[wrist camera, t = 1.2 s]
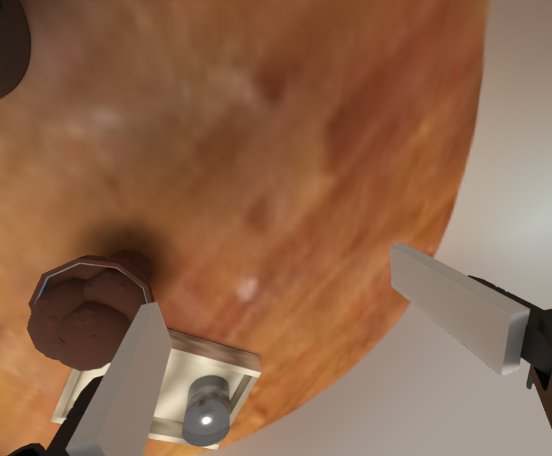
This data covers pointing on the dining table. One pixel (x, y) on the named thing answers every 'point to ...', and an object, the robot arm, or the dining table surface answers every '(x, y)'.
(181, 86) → the dining table surface
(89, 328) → the ice cream bowl
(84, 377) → the cream rectangular tray
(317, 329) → the dining table surface
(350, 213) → the dining table surface
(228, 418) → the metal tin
